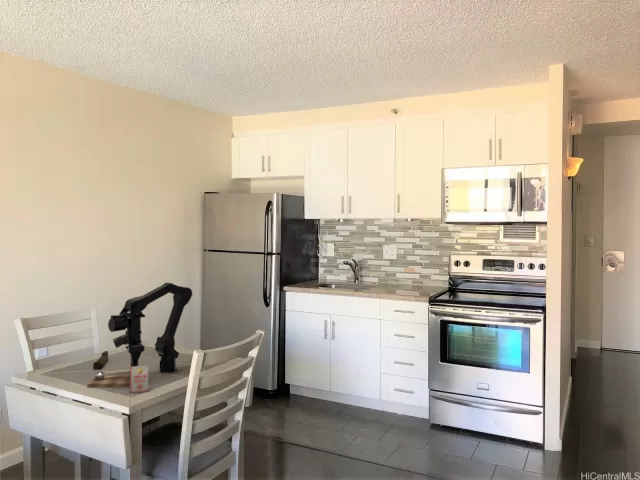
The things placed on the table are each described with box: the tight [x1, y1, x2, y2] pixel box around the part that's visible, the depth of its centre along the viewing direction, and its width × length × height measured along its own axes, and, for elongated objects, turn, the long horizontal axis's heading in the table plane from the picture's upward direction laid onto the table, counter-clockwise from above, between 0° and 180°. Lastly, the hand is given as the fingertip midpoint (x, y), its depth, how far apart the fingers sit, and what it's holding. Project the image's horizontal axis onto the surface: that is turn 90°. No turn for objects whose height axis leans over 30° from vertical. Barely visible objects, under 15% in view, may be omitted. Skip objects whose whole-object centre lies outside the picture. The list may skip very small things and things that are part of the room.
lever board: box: [86, 369, 131, 388], centre depth 231 cm, size 20×19×3 cm
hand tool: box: [92, 350, 109, 371], centre depth 255 cm, size 19×4×5 cm, turn 7°
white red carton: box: [129, 365, 149, 394], centre depth 217 cm, size 4×7×10 cm, turn 108°
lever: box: [93, 353, 139, 378], centre depth 229 cm, size 18×4×8 cm, turn 112°
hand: (134, 364), depth 232 cm, fingers open, 4 cm apart
